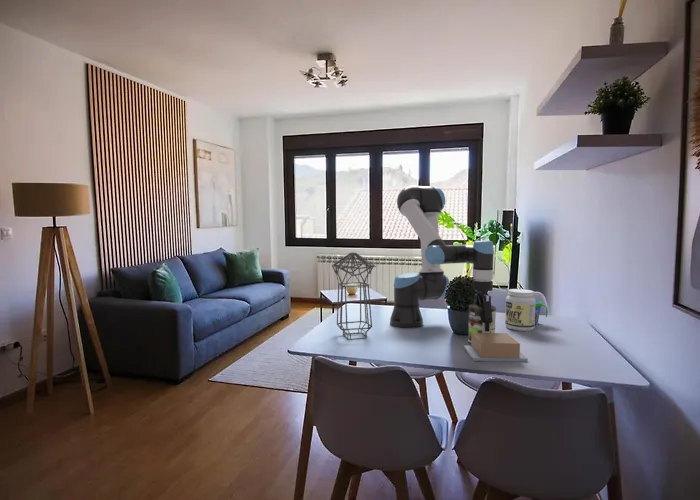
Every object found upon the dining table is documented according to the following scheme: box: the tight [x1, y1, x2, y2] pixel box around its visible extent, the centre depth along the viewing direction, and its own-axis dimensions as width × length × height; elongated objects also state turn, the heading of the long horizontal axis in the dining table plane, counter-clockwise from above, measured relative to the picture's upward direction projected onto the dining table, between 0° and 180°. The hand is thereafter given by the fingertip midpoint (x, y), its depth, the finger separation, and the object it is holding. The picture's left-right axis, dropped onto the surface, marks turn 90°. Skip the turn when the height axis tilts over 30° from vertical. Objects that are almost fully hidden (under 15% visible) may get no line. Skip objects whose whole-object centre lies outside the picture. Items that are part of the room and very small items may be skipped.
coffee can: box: [467, 303, 497, 344], centre depth 159 cm, size 10×10×14 cm
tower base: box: [463, 332, 528, 363], centre depth 144 cm, size 18×14×6 cm
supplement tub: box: [504, 288, 537, 332], centre depth 180 cm, size 12×12×17 cm
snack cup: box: [535, 299, 549, 325], centre depth 190 cm, size 16×10×10 cm
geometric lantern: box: [331, 252, 377, 341], centre depth 167 cm, size 16×16×35 cm
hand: (481, 334), depth 160 cm, fingers open, 11 cm apart
